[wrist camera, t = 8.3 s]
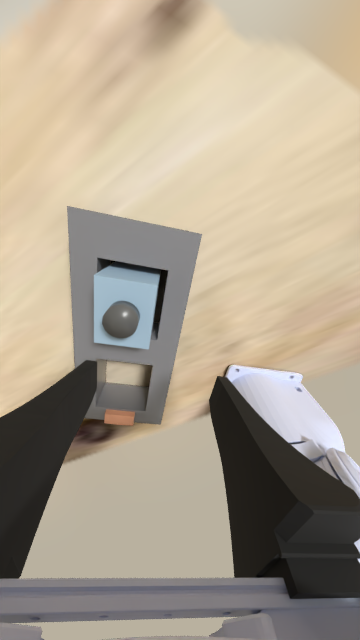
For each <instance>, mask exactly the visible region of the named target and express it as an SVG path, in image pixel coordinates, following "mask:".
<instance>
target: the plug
mask: <svg viewBox="0 0 360 640" xmlns="http://www.w3.org/2000/svg"><path fill="white" fill-rule="evenodd" d="M160 274H161V269H158V268H152V267H147V266H141V265H136V264H130V263H125V262H119V261H116V262H114V263H113V264H111V265H109V266H108V267H106V268H104V269H103V270H101V271H99V272H98V273H96V274H95V275H94V343H102V344H110V345H118V346H125V347H133V348H141V349H149V345H150V340H151V334H152V328H153V322H154V316H155V309H156V302H157V295H158V288H159V281H160Z"/></svg>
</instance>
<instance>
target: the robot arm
mask: <svg viewBox="0 0 360 640" xmlns="http://www.w3.org/2000/svg"><path fill="white" fill-rule="evenodd" d="M236 369H238V370H236ZM302 378H303V376H302V375H301V374H300V373H294V372H286V371H278V370H270V369H262V368H255V367H247V366H239V365H230V366H229V368H228V370H227V373H226V376H225V377H221V376H217V379H216V382H215V385H214V388H213V391H212V394H211V397H210V399H209V403H210V412H211V418H212V423H213V427H214V431H215V435H216V440H217V444H218V448H219V452H220V457H221V462H222V466H223V474H224V481H225V488H226V495H227V503H228V512H229V520H230V530H231V540H232V552H233V564H234V576H235V578H77V579H76V578H68V579H67V578H60V579H59V578H58V579H56V578H50V579H49V578H48V579H19V577H20V576H21V573H22V570H23V567H24V565H25V562H26V559H27V556H28V553H29V550H30V548H31V545H32V542H33V539H34V536H35V533H36V531H37V528H38V525H39V523H40V520H41V517H42V515H43V512H44V509H45V506H46V504H47V501H48V498H49V496H50V493H51V491H52V488H53V486H54V483H55V481H56V478H57V475H58V473H59V470H60V468H61V466H62V463H63V461H64V458H65V456H66V453H67V451H68V449H69V447H70V445H71V443H72V441H73V439H74V437H75V435H76V433H77V431H78V429H79V427H80V425H81V423H82V421H83V419H84V417H85V415H86V413H87V411H88V409H89V407H90V405H91V403H92V400H93V398H94V395H95V392H96V389H97V361H91V360H86V361H84V362H83V363H82V364H80V365H79V366H78V367H76V368H75V369H74V370H73V371H71V372H70V373H69V374H68V375H66V376H65V377H64V378H62V379H61V380H60V381H58V382H57V383H56V384H54V385H53V386H51V387H50V388H48V389H47V390H45V391H44V392H43V393H41V394H40V395H38V396H37V397H35V398H34V399H32V400H30V401H29V402H27V403H26V404H24V405H22V406H20V407H19V408H17V409H15V410H14V411H12V412H10V413H8V414H6V415H4V416H2V417H0V640H44V639H42V638H41V634H42V630H41V627H36V626H28V625H19V624H11V623H30V622H64V621H65V622H67V621H98V620H99V621H100V620H135V619H172V618H205V617H206V618H207V617H238V618H233V619H228V620H224V622H223V624H222V628H221V629H219V630H218V631H217V632H215V633H213V634H211V635H209V637H202V636H154V637H132V638H117V639H104V640H360V467H359V466H358V465H357V464H356V463H355V462H354V461H353V460H352V458H350V456H348V455H347V454H346V453H345V447H344V443H343V439H342V436H341V434H340V432H339V430H338V428H337V426H336V425H335V423H334V422H333V421H332V419H331V418H330V417H329V416H328V414H327V413H326V412H325V411H324V410H323V409H322V407H321V406H320V405H319V404H318V403H317V402H316V400H315V399H314V398H313V397H312V396H311V394H310V393H309V392H308V391H307V390H306V388H305V387H304V386H303V385H302V384H301V383H300V382H301V380H302ZM242 616H243V617H242Z"/></svg>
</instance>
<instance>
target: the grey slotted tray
mask: <svg viewBox="0 0 360 640" xmlns="http://www.w3.org/2000/svg"><path fill="white" fill-rule="evenodd" d="M67 212H68V233H69V254H70V275H71V296H72V317H73V338H74V359H75V368H76V367H78V366H79V365H80V364H82V363H83V362H84V361H86V360H91V361H97V389H96V392H95V395H94V398H93V400H92V403H91V405H90V407H89V409H88V411H87V413H86V415H85V417H84V418H89V419H101V420H105V421H104V423H106V424H118V425H130V426H133V423H134V422H137V423H149V424H161V420H162V416H163V411H164V407H165V402H166V397H167V393H168V388H169V384H170V379H171V374H172V370H173V365H174V361H175V356H176V351H177V347H178V342H179V338H180V333H181V328H182V324H183V319H184V314H185V310H186V305H187V301H188V296H189V291H190V287H191V282H192V278H193V273H194V268H195V264H196V259H197V255H198V250H199V245H200V241H201V236H202V234H199V233H194V232H189V231H184V230H179V229H175V228H170V227H165V226H160V225H156V224H151V223H146V222H141V221H136V220H132V219H127V218H122V217H117V216H113V215H108V214H103V213H98V212H93V211H89V210H84V209H79V208H74V207H70V206H67ZM110 260H114V261H119V262H125V263H130V264H136V265H141V266H147V267H152V268H158V269H163V270H168V271H167V277H166V283H165V290H164V296H163V302H162V308H161V314H160V321H159V323H157V322H153V328H152V334H151V340H150V345H149V349H141V348H133V347H125V346H118V345H110V344H102V343H94V275H95V274H96V273H98V272H99V271H101V270H103V269H104V268H106V267H108V266H109V265H110ZM107 360H112V361H120V362H128V363H137V364H145V365H152V371H151V377H150V383H149V387H143V386H133V385H124V384H115V383H106V362H107Z"/></svg>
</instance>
